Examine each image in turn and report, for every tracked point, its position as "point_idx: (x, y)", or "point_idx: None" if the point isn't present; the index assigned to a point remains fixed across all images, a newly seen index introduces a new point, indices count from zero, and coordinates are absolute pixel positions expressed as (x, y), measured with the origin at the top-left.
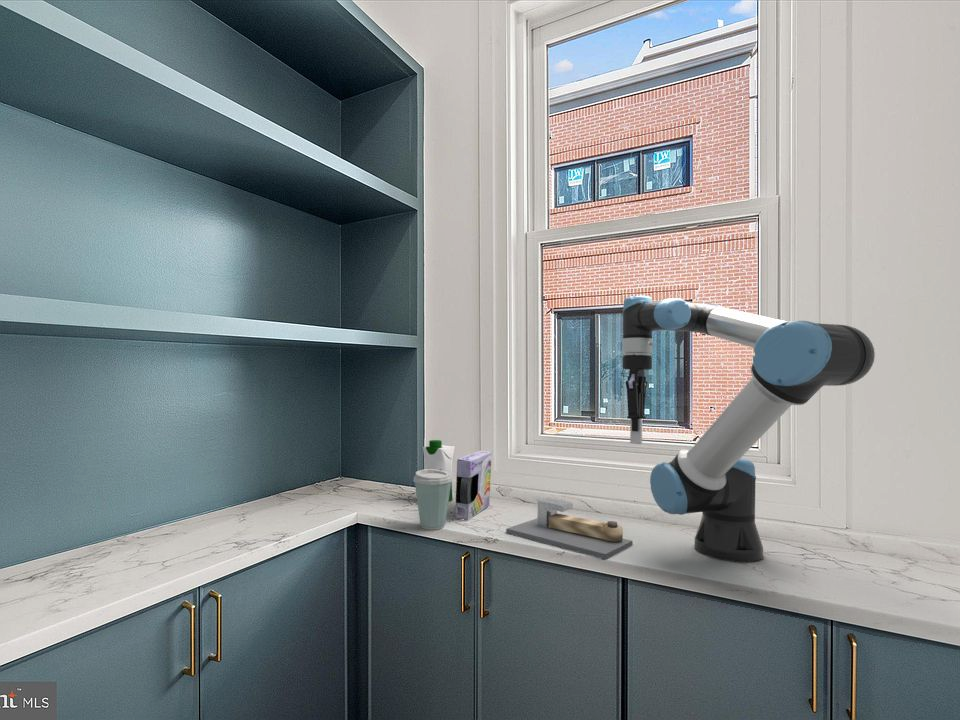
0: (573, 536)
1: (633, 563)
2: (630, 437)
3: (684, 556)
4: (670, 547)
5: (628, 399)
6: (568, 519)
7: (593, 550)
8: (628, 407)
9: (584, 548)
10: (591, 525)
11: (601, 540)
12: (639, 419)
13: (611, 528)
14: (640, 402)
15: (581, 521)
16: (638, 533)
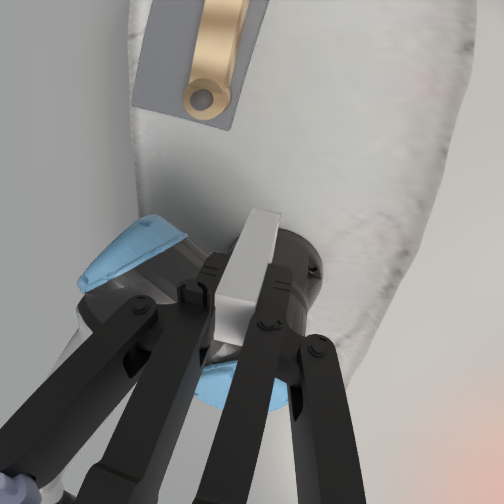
0: (194, 24)
1: (143, 144)
2: (246, 223)
3: (217, 211)
4: (254, 191)
5: (51, 384)
6: (209, 2)
7: (136, 83)
8: (91, 339)
9: (138, 67)
10: (194, 57)
11: None
12: (214, 333)
13: (187, 101)
14: (177, 432)
15: (207, 31)
16: (322, 132)
